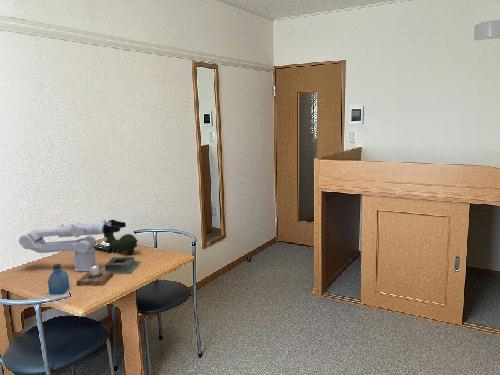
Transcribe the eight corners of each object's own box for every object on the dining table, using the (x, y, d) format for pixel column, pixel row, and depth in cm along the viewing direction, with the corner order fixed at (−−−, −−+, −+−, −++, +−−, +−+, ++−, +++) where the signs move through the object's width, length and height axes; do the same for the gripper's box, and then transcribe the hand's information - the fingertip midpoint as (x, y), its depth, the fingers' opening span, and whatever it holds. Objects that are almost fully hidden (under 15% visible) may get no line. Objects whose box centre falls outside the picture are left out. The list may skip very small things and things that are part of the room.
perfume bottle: (69, 288, 184) (66, 262, 182) (63, 293, 178) (61, 267, 176) (55, 288, 184) (52, 262, 182) (49, 294, 178) (46, 267, 176)
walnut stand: (77, 285, 187) (76, 281, 186) (88, 275, 198) (88, 271, 198) (103, 285, 186) (102, 281, 186) (113, 275, 198) (112, 271, 197)
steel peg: (89, 282, 190) (88, 267, 189) (93, 278, 194) (91, 264, 193) (98, 282, 190) (96, 267, 189) (101, 278, 194) (100, 264, 193)
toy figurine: (102, 254, 234) (132, 257, 220) (97, 221, 232) (127, 223, 218) (115, 249, 242) (145, 252, 228) (111, 218, 240) (141, 219, 226)
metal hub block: (98, 273, 200) (97, 266, 200) (110, 262, 216) (110, 255, 215) (130, 273, 199) (130, 266, 199) (141, 262, 215) (140, 255, 214)
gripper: (88, 224, 196) (115, 222, 195) (100, 217, 210) (126, 215, 209) (90, 239, 197) (118, 237, 196) (102, 230, 211) (128, 228, 210)
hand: (122, 226), depth 203 cm, fingers open, 7 cm apart
